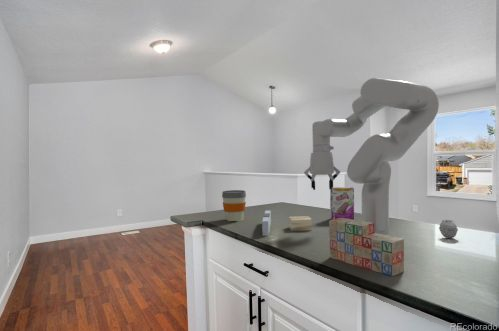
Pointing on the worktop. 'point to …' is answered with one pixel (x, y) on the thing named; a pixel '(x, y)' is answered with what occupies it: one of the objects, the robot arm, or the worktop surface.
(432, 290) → the worktop surface
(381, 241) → the stack of blocks
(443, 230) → the rough grey ball
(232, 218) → the reusable coffee cup
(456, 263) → the worktop surface
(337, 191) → the candy bar box
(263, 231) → the grey-blue board
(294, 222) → the maple block
